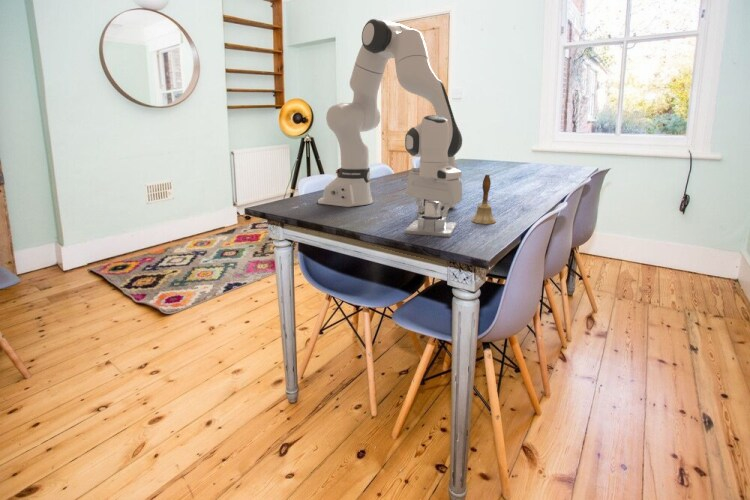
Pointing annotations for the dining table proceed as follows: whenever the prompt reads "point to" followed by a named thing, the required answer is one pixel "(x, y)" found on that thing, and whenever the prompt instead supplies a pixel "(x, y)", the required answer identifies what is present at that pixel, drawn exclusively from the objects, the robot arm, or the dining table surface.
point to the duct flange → (431, 227)
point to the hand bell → (484, 206)
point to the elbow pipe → (432, 210)
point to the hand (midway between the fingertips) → (432, 214)
